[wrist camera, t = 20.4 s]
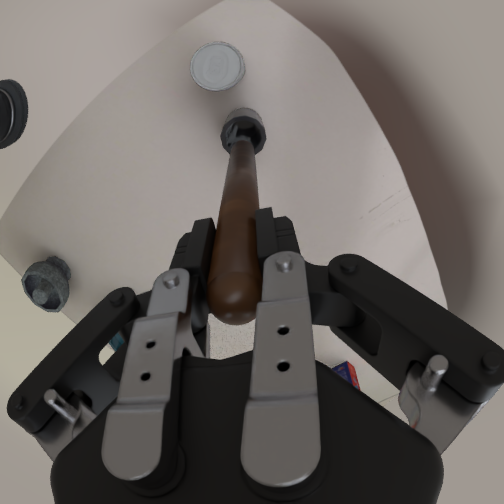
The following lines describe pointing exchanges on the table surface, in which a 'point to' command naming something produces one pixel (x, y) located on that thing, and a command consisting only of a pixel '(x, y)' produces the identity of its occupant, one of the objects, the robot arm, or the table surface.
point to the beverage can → (217, 66)
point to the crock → (243, 129)
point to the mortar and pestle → (47, 284)
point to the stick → (236, 243)
